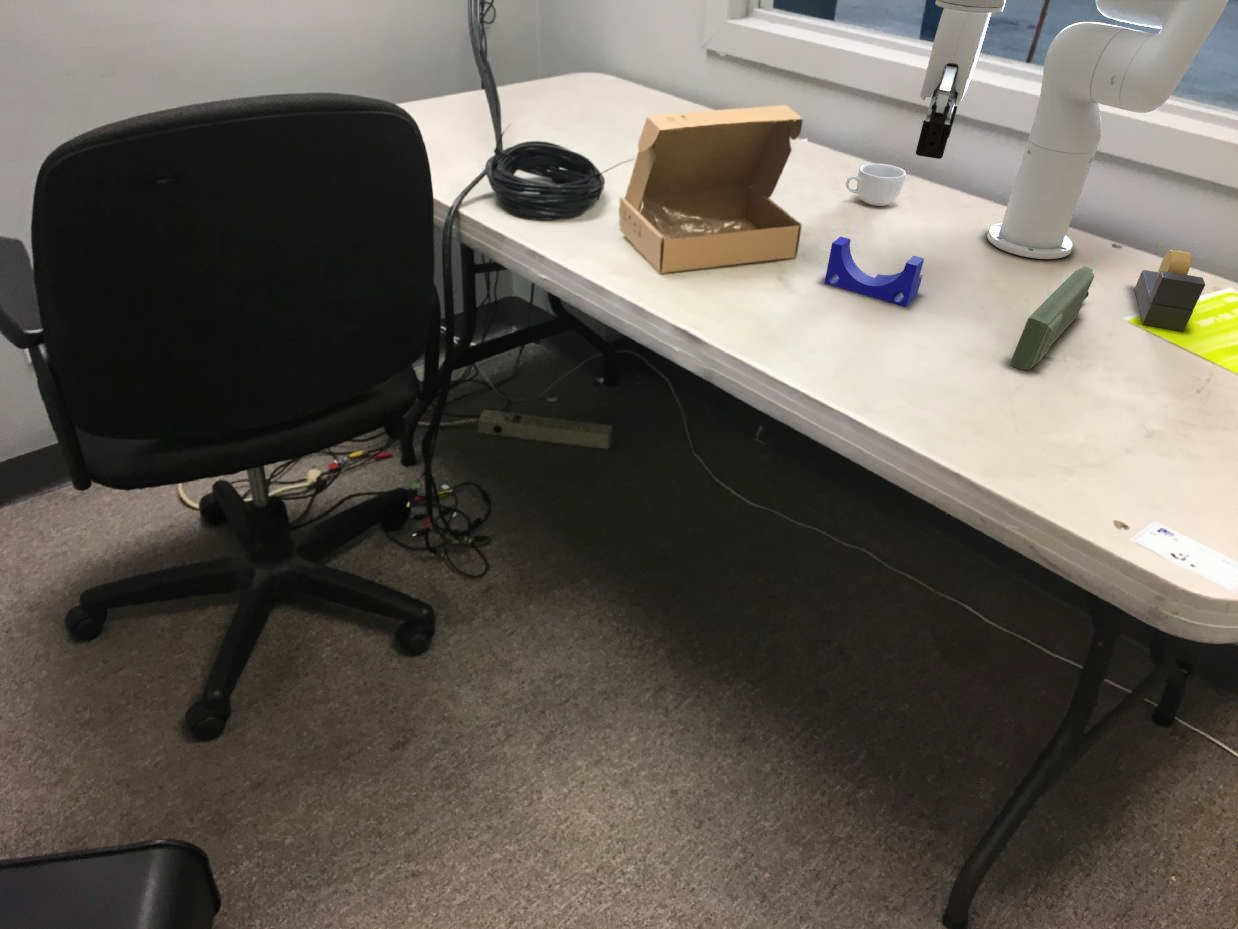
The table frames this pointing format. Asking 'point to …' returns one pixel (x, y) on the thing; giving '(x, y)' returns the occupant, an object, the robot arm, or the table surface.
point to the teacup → (878, 183)
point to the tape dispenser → (1169, 292)
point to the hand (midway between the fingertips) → (932, 146)
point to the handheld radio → (1052, 319)
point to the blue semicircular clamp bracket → (882, 286)
